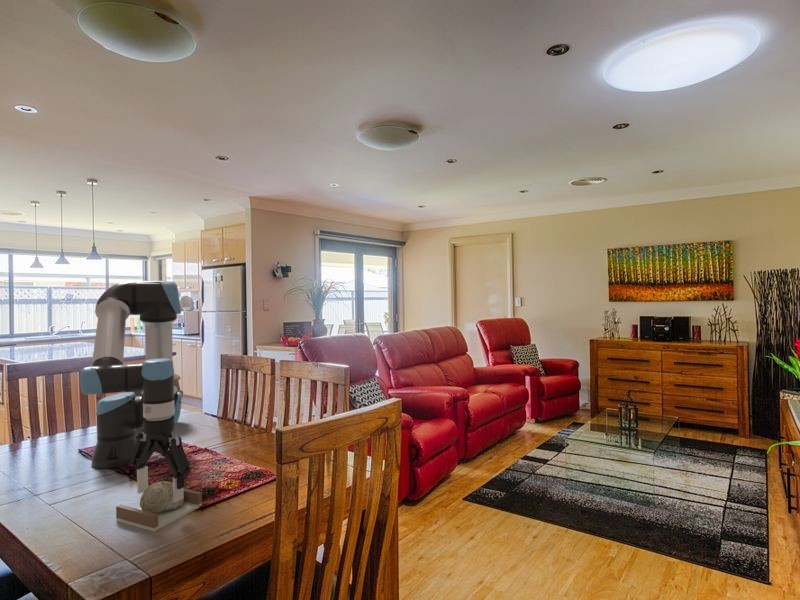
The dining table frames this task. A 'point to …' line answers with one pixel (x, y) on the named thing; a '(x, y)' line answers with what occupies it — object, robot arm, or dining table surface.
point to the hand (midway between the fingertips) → (160, 495)
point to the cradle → (161, 519)
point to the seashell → (159, 498)
